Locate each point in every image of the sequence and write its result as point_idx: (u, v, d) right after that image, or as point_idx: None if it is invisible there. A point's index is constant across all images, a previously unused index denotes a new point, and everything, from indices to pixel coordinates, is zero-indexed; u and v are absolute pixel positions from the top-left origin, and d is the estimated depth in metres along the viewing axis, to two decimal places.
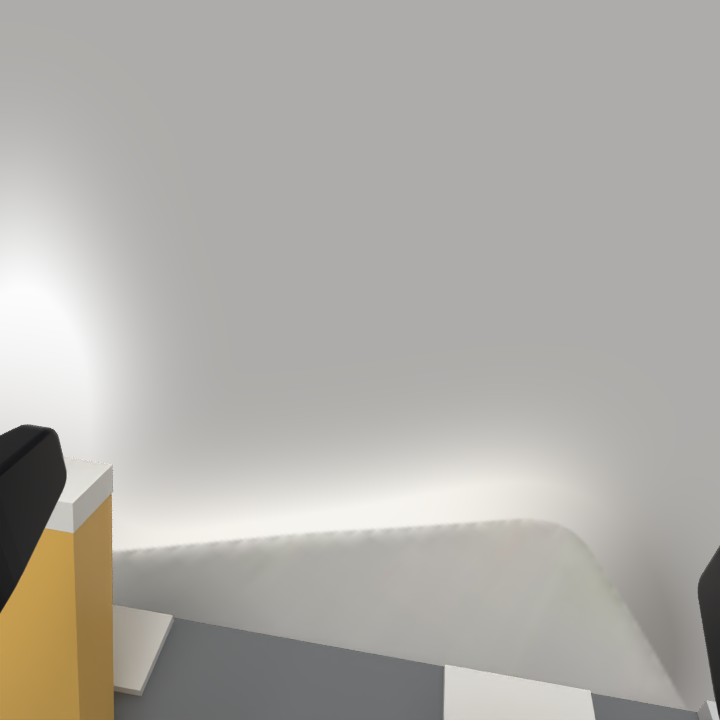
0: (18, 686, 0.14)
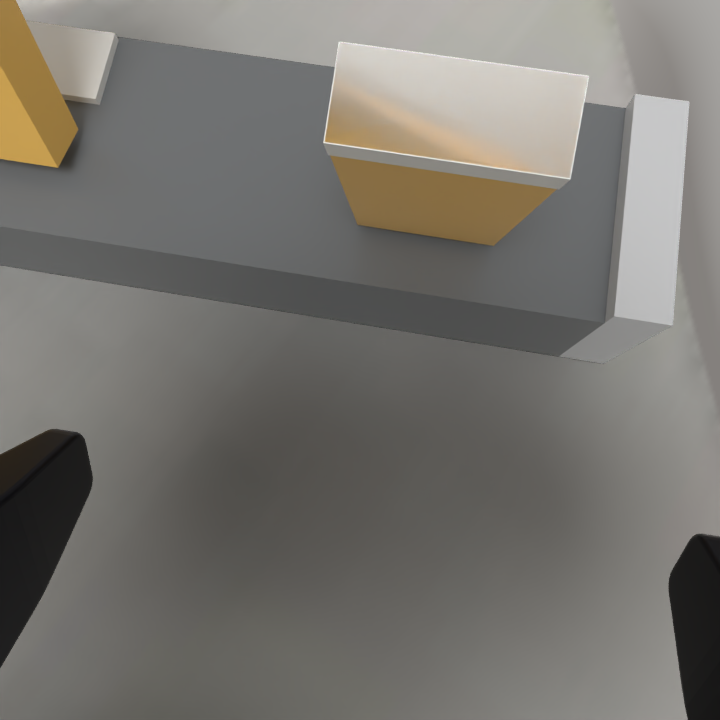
0: None
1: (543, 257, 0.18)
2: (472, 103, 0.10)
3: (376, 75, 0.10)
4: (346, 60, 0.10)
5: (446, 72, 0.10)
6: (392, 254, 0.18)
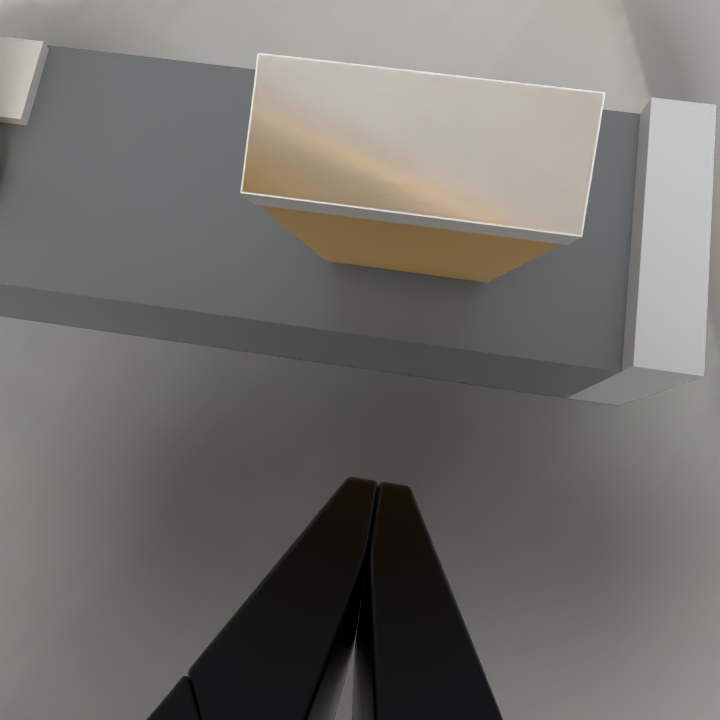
0: None
1: (546, 293, 0.15)
2: (443, 134, 0.07)
3: (310, 98, 0.07)
4: (268, 79, 0.07)
5: (406, 91, 0.07)
6: (369, 294, 0.16)
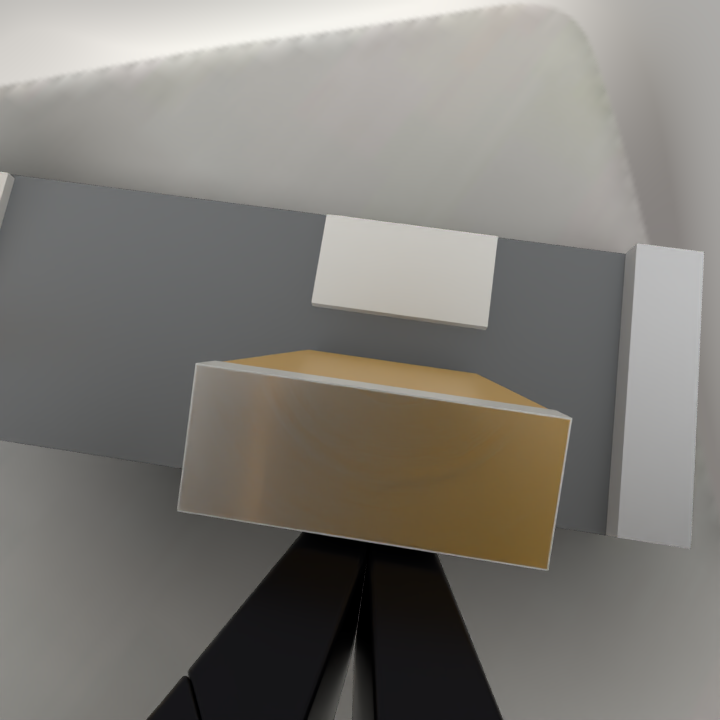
0: None
1: None
2: (396, 456, 0.07)
3: (252, 413, 0.07)
4: (207, 391, 0.07)
5: (356, 409, 0.07)
6: None
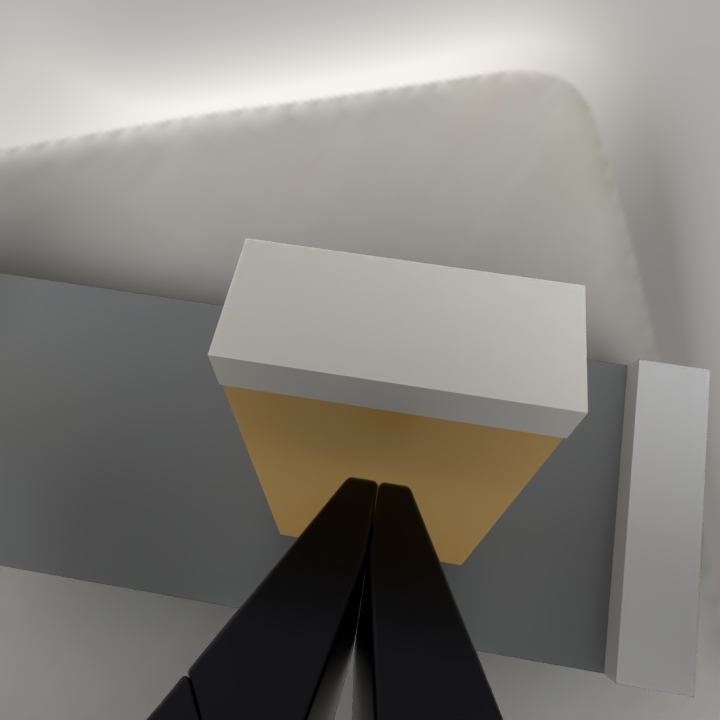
0: None
1: (523, 578, 0.14)
2: (429, 312, 0.07)
3: (294, 276, 0.07)
4: (253, 258, 0.07)
5: (390, 275, 0.07)
6: None
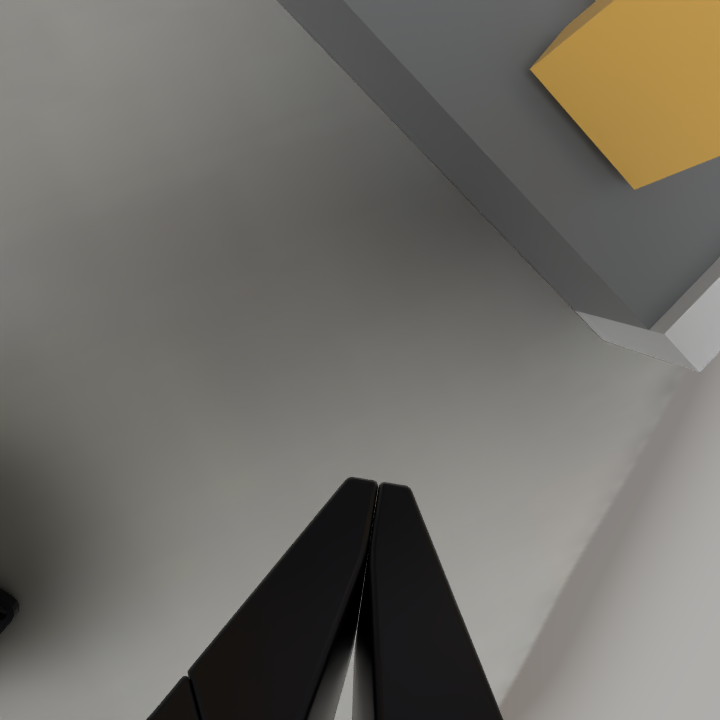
0: None
1: (649, 236, 0.17)
2: None
3: None
4: None
5: None
6: (525, 134, 0.16)
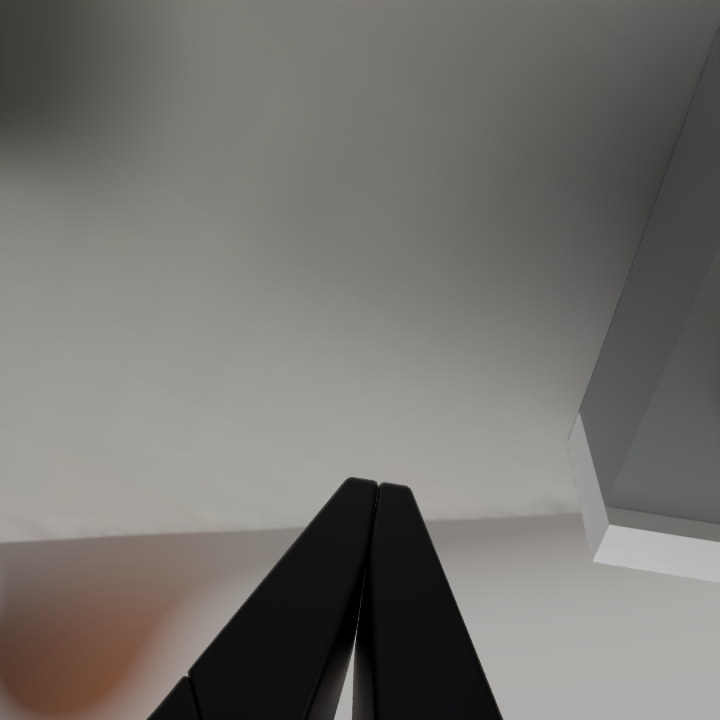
0: None
1: (691, 465, 0.17)
2: None
3: None
4: None
5: None
6: None
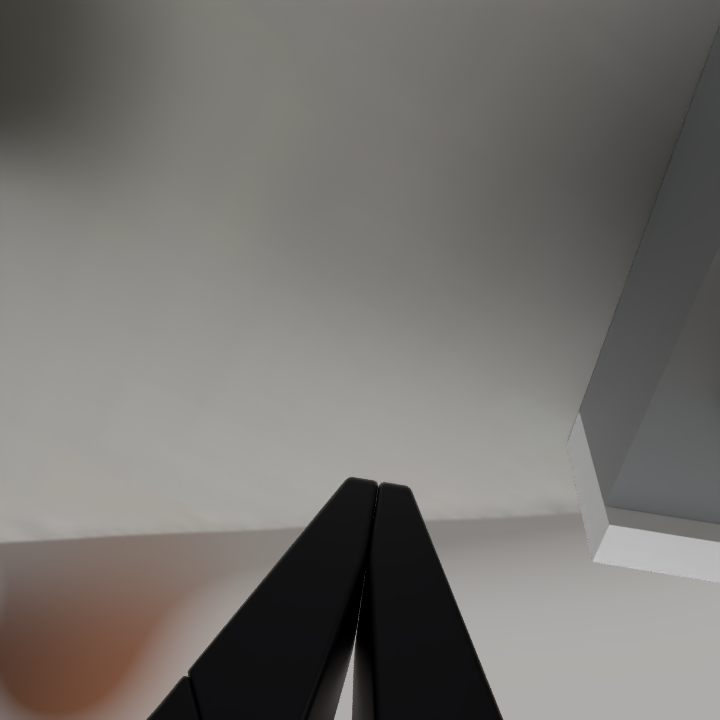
0: None
1: (691, 465, 0.17)
2: None
3: None
4: None
5: None
6: None
